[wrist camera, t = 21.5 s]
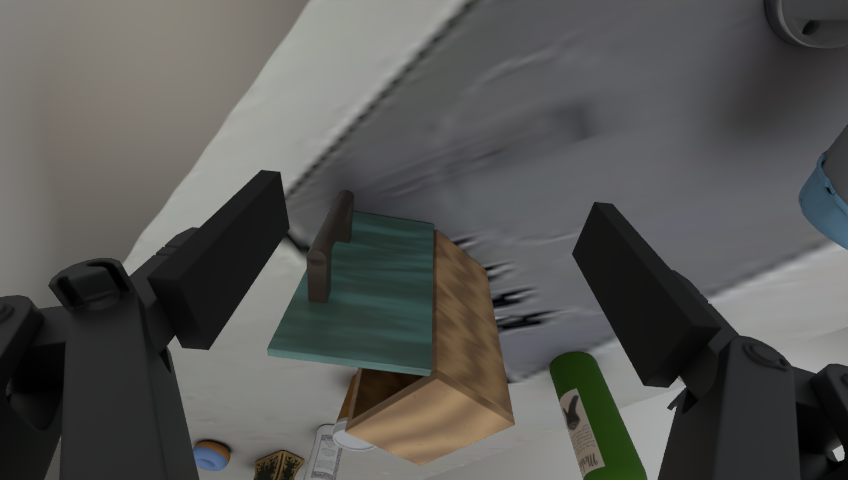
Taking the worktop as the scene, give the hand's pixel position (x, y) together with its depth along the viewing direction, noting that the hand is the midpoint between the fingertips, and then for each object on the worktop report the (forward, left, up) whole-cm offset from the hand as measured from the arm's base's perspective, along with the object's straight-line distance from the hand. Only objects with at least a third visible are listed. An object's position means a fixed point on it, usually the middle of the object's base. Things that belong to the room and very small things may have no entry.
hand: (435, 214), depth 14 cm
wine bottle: (+57, +12, -29) cm, 65 cm away
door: (+12, -10, -29) cm, 33 cm away
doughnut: (+71, -83, -29) cm, 113 cm away
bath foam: (+70, -47, -29) cm, 89 cm away
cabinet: (+27, -8, -29) cm, 40 cm away
